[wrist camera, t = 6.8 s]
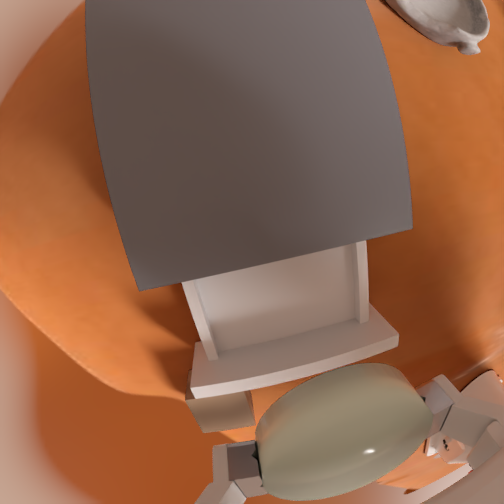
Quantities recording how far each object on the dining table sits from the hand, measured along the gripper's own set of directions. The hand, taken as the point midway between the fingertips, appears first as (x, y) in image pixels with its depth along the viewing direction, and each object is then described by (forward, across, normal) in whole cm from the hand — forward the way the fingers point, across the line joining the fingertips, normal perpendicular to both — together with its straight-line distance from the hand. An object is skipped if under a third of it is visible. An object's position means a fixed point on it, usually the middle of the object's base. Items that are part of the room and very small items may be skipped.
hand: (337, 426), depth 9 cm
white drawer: (+15, 0, -3) cm, 15 cm away
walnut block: (+15, +7, +10) cm, 19 cm away
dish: (+15, -21, -26) cm, 37 cm away
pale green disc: (0, 0, 0) cm, 0 cm away
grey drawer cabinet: (+15, 0, -13) cm, 20 cm away
